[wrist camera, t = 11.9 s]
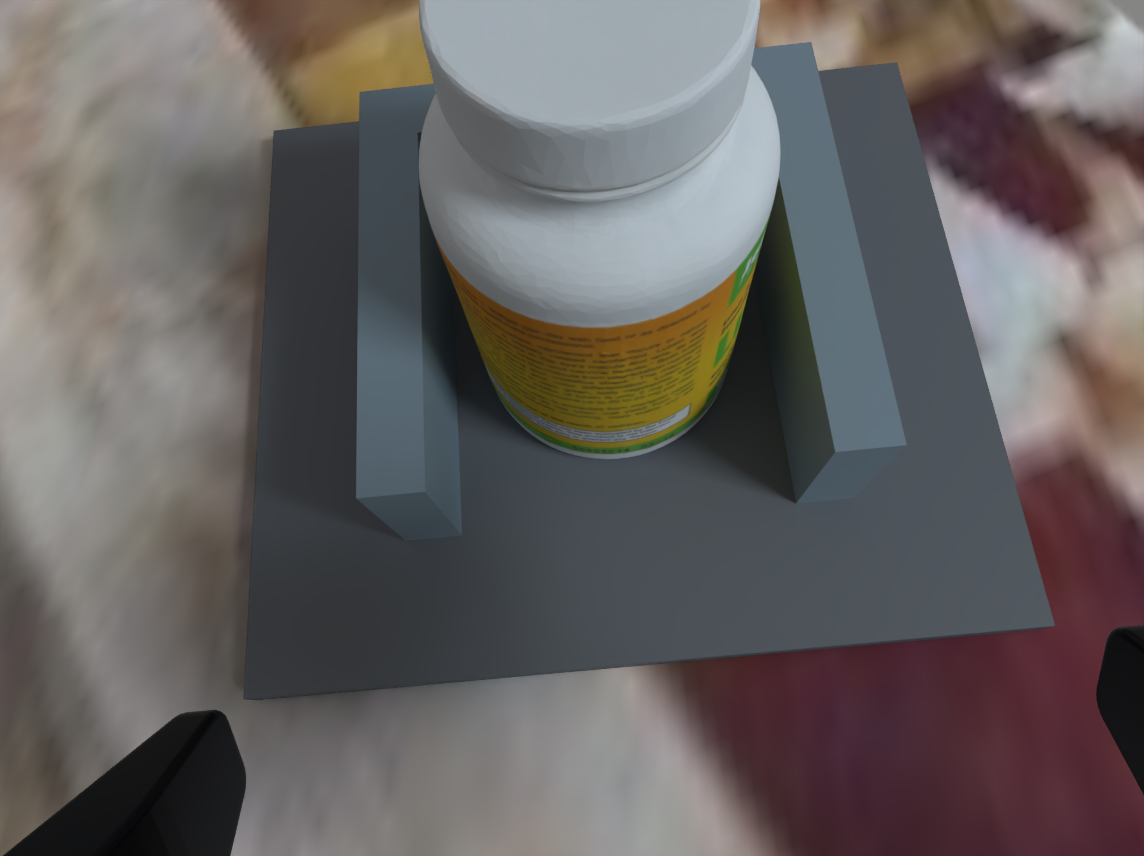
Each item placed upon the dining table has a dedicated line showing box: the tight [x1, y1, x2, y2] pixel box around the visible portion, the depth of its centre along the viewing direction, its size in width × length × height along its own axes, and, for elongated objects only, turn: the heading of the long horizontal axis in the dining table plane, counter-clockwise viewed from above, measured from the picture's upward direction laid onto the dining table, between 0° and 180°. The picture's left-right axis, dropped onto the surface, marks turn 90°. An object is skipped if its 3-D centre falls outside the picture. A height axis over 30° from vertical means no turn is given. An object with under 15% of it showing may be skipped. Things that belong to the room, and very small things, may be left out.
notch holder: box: [244, 42, 1055, 700], centre depth 17 cm, size 14×16×4 cm
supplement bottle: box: [419, 0, 781, 459], centre depth 14 cm, size 5×5×10 cm
